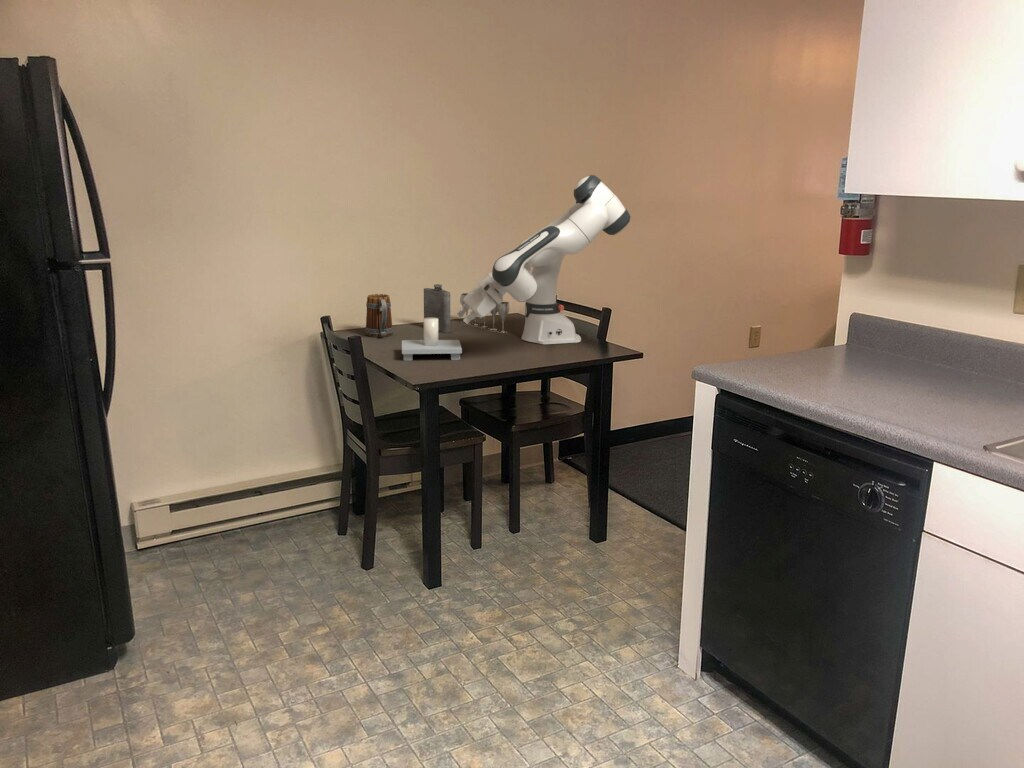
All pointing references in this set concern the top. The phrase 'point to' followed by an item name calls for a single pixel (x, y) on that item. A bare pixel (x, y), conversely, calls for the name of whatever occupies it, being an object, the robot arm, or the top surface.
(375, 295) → the mug
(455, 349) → the shelf
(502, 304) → the goblet set
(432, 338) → the white rounded cylinder
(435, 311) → the flask
